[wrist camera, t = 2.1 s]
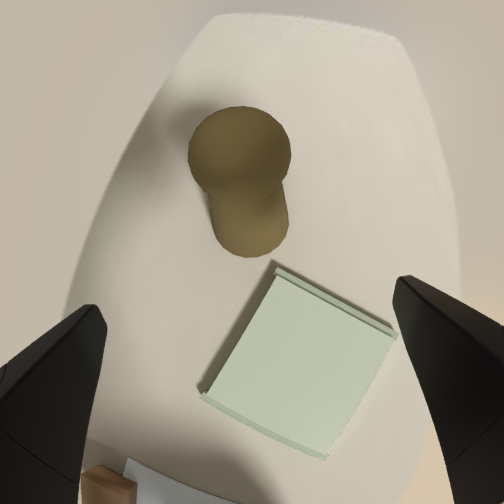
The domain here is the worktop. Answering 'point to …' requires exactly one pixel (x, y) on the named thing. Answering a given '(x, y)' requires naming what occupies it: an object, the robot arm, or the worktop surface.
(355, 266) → the worktop surface
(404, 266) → the worktop surface
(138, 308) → the worktop surface
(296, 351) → the baseplate
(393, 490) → the worktop surface
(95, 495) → the brick
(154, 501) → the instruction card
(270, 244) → the cork
